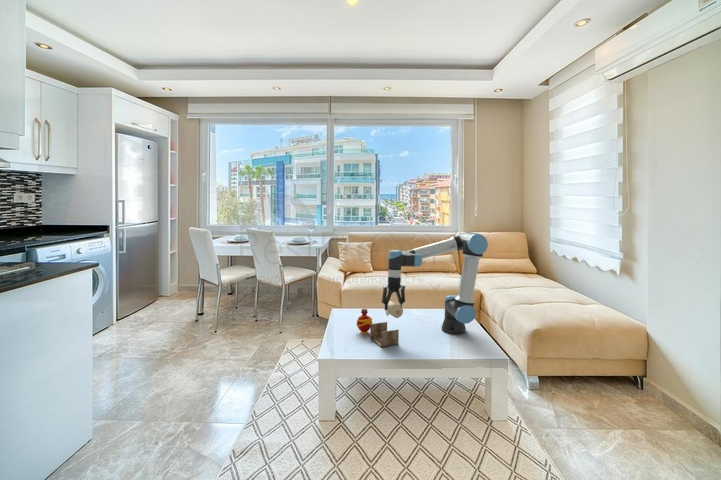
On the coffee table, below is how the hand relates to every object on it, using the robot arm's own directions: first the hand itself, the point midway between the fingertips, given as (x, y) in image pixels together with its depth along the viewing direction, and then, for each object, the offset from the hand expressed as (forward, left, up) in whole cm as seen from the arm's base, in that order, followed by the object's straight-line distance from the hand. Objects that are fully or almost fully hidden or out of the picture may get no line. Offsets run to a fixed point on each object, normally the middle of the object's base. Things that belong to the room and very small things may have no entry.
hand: (393, 314), depth 205 cm
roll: (0, 0, 0) cm, 0 cm away
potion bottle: (+10, -19, -16) cm, 27 cm away
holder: (+5, -1, -16) cm, 17 cm away
